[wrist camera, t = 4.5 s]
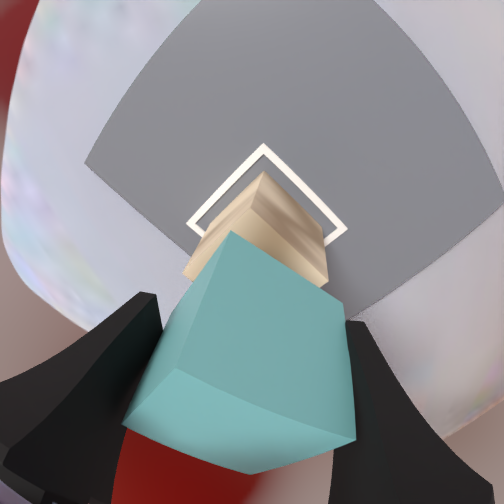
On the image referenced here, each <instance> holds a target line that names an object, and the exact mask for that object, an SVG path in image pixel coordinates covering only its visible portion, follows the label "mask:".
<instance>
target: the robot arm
mask: <svg viewBox="0 0 504 504" xmlns="http://www.w3.org/2000/svg"><path fill="white" fill-rule="evenodd" d="M345 329H346V337H347V346H348V352H349V357H350V364H351V374H352V385H353V397H354V410H355V426H356V440H355V441H353V442H350V443H348V444H345V445H343V446H340V447H338V448H335V449H334V455H333V469H332V479H331V487H330V495H329V501H328V504H495V501H494V493H493V486H492V484H490V483H489V482H488V481H486V480H485V479H484V478H483V477H481V476H480V475H479V474H478V473H476V472H475V471H474V470H472V469H471V468H470V467H469V466H468V465H467V464H466V463H465V462H463V461H462V460H461V459H460V458H459V457H458V456H457V455H456V454H455V453H454V452H453V451H452V450H451V449H450V448H449V447H448V446H447V445H446V443H445V442H444V441H443V440H442V439H441V438H440V437H439V436H438V435H437V434H436V433H435V431H434V430H433V429H432V428H431V427H430V425H429V424H428V423H427V422H426V420H425V419H424V418H423V416H422V415H421V414H420V413H419V411H418V410H417V408H416V407H415V406H414V404H413V403H412V401H411V400H410V398H409V397H408V395H407V394H406V392H405V391H404V389H403V388H402V386H401V385H400V383H399V382H398V380H397V378H396V377H395V375H394V373H393V372H392V370H391V368H390V367H389V365H388V363H387V362H386V360H385V358H384V356H383V355H382V353H381V351H380V349H379V348H378V346H377V344H376V342H375V340H374V339H373V337H372V335H371V333H370V331H369V330H368V328H367V326H366V324H365V323H364V322H362V321H350V320H346V322H345ZM162 332H163V328H162V323H161V318H160V313H159V308H158V302H157V296H156V294H151V293H146V292H139V293H138V294H136V295H135V296H134V297H132V298H131V299H130V300H129V301H127V302H126V303H125V304H124V305H122V306H121V307H120V308H119V309H118V310H116V311H115V312H114V313H113V314H111V315H110V316H109V317H108V318H106V319H105V320H104V321H103V322H101V323H100V324H99V325H97V326H96V327H95V328H94V329H92V330H91V331H90V332H88V333H87V334H85V335H84V336H83V337H81V338H80V339H79V340H77V341H76V342H75V343H73V344H72V345H70V346H69V347H67V348H66V349H64V350H63V351H61V352H60V353H58V354H56V355H55V356H53V357H52V358H50V359H48V360H46V361H45V362H43V363H41V364H39V365H37V366H35V367H33V368H31V369H29V370H28V371H26V372H23V373H21V374H19V375H17V376H15V377H13V378H10V379H8V380H5V381H2V382H0V504H88V503H89V504H111V499H112V492H113V485H114V478H115V474H116V469H117V464H118V459H119V455H120V451H121V447H122V444H123V440H124V436H125V433H126V430H127V427H126V426H124V425H122V424H121V423H122V421H123V419H124V416H125V414H126V412H127V409H128V407H129V405H130V402H131V400H132V398H133V395H134V393H135V391H136V389H137V386H138V384H139V382H140V380H141V377H142V375H143V373H144V371H145V369H146V366H147V364H148V362H149V360H150V358H151V356H152V353H153V351H154V349H155V347H156V345H157V343H158V341H159V339H160V336H161V334H162Z"/></svg>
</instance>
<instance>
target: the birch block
mask: <svg viewBox="0 0 504 504" xmlns="http://www.w3.org/2000/svg"><path fill="white" fill-rule="evenodd" d="M230 230H231V231H233V232H234V233H236V234H238V235H239V236H241V237H242V238H244V239H245V240H247V241H248V242H250V243H251V244H253V245H255V246H256V247H258V248H259V249H261V250H262V251H264V252H265V253H267V254H268V255H270V256H271V257H273V258H274V259H276V260H278V261H279V262H281V263H282V264H284V265H285V266H287V267H288V268H290V269H291V270H293V271H294V272H296V273H297V274H299V275H301V276H302V277H304V278H305V279H307V280H308V281H310V282H311V283H313V284H314V285H316V286H317V287H319V288H320V287H321V286H323V285H324V284H326V283H327V282H328V281H329V279H328V270H327V262H326V254H325V246H324V239H323V232H322V227H321V226H320V225H319V224H318V223H317V222H316V221H315V220H314V218H313V217H312V216H311V215H310V214H309V213H308V212H307V211H306V210H305V209H304V208H303V207H302V206H301V205H300V204H299V203H298V202H297V201H296V200H295V199H293V198H292V197H291V196H290V195H289V194H288V193H287V192H286V191H285V190H284V189H283V188H282V187H281V186H280V185H279V184H278V183H277V182H276V181H275V180H274V179H273V178H272V177H271V176H270V175H269V174H268V173H267V172H265V171H263V172H262V173H261V174H260V175H259V176H258V177H257V178H256V179H255V180H253V181H252V182H251V183H250V184H249V185H248V186H247V187H246V188H245V189H244V190H243V191H242V192H241V193H240V194H239V195H238V196H237V197H236V198H235V199H234V200H233V201H232V202H231V203H230V204H229V205H228V206H227V207H226V208H225V209H224V210H223V211H222V212H221V213H220V214H219V215H218V216H217V217H216V218H215V219H214V220H213V221H212V222H211V223H210V225H209V227H208V228H207V230H206V232H205V233H204V235H203V237H202V239H201V241H200V242H199V244H198V246H197V248H196V249H195V251H194V253H193V255H192V257H191V258H190V260H189V262H188V264H187V266H186V267H185V269H184V271H183V273H182V274H183V275H185V276H186V277H187V278H188V279H190V280H191V281H192V282H194V280H195V279H196V278H197V276H198V275H199V273H200V272H201V271H202V269H203V268H204V266H205V265H206V264H207V262H208V261H209V259H210V258H211V257H212V255H213V254H214V252H215V251H216V250H217V248H218V247H219V246H220V244H221V243H222V241H223V240H224V239H225V237H226V236H227V235H228V233H229V232H230Z"/></svg>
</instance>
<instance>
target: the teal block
mask: <svg viewBox="0 0 504 504" xmlns="http://www.w3.org/2000/svg"><path fill="white" fill-rule="evenodd" d="M121 424H122V425H124V426H126V427H128V428H129V429H131V430H133V431H136V432H138V433H140V434H142V435H144V436H146V437H148V438H150V439H152V440H155V441H157V442H159V443H161V444H164V445H166V446H168V447H171V448H173V449H176V450H178V451H180V452H183V453H186V454H188V455H191V456H194V457H196V458H199V459H202V460H205V461H207V462H210V463H213V464H216V465H219V466H222V467H225V468H229V469H232V470H235V471H239V472H242V473H246V474H255V473H259V472H263V471H267V470H271V469H275V468H278V467H281V466H285V465H288V464H291V463H295V462H298V461H301V460H304V459H307V458H310V457H313V456H316V455H319V454H322V453H325V452H327V451H330V450H333V449H335V448H338V447H340V446H343V445H345V444H348V443H350V442H353V441H355V440H356V426H355V410H354V397H353V385H352V374H351V364H350V357H349V352H348V346H347V337H346V329H345V315H344V308H343V303H342V302H340V301H339V300H337V299H336V298H334V297H333V296H331V295H329V294H328V293H326V292H325V291H323V290H322V289H320V288H319V287H317V286H316V285H314V284H313V283H311V282H310V281H308V280H307V279H305V278H304V277H302V276H301V275H299V274H297V273H296V272H294V271H293V270H291V269H290V268H288V267H287V266H285V265H284V264H282V263H281V262H279V261H278V260H276V259H274V258H273V257H271V256H270V255H268V254H267V253H265V252H264V251H262V250H261V249H259V248H258V247H256V246H255V245H253V244H251V243H250V242H248V241H247V240H245V239H244V238H242V237H241V236H239V235H238V234H236V233H234V232H233V231H231V230H230V232H229V233H228V235H227V236H226V237H225V239H224V240H223V241H222V243H221V244H220V246H219V247H218V248H217V250H216V251H215V252H214V254H213V255H212V257H211V258H210V259H209V261H208V262H207V264H206V265H205V266H204V268H203V269H202V271H201V272H200V273H199V275H198V276H197V278H196V279H195V280H194V282H193V283H192V285H191V286H190V287H189V289H188V290H187V292H186V293H185V295H184V296H183V297H182V299H181V300H180V302H179V303H178V305H177V306H176V307H175V309H174V310H173V312H172V313H171V315H170V317H169V319H168V321H167V324H166V326H165V328H164V330H163V332H162V334H161V336H160V339H159V341H158V343H157V345H156V347H155V349H154V351H153V353H152V356H151V358H150V360H149V362H148V364H147V366H146V369H145V371H144V373H143V375H142V377H141V380H140V382H139V384H138V386H137V389H136V391H135V393H134V395H133V398H132V400H131V402H130V405H129V407H128V409H127V412H126V414H125V416H124V419H123V421H122V423H121Z"/></svg>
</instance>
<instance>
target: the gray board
mask: <svg viewBox="0 0 504 504" xmlns="http://www.w3.org/2000/svg"><path fill="white" fill-rule="evenodd" d="M85 164H86V165H87V166H88V167H89V168H90V169H91V170H92V171H93V172H94V173H96V174H97V175H98V176H99V177H100V178H101V179H102V180H103V181H104V182H105V183H107V184H108V185H109V186H110V187H111V188H112V189H113V190H114V191H115V192H117V193H118V194H119V195H120V196H121V197H122V198H123V199H124V200H126V201H127V202H128V203H129V204H130V205H131V206H132V207H134V208H135V209H136V210H137V211H138V212H139V213H140V214H142V215H143V216H144V217H145V218H146V219H147V220H148V221H150V222H151V223H152V224H153V225H154V226H155V227H157V228H158V229H159V230H160V231H161V232H162V233H164V234H165V235H166V236H167V237H168V238H169V239H171V240H172V241H173V242H174V243H175V244H177V245H178V246H179V247H180V248H181V249H183V250H184V251H185V252H186V253H187V254H189V255H190V256H191V257H192V255H193V253H194V251H195V249H196V248H197V246H198V244H199V242H200V241H201V239H202V237H203V235H204V233H205V232H206V230H207V228H208V227H209V225H210V223H211V222H212V221H213V220H214V219H215V218H216V217H217V216H218V215H219V214H220V213H221V212H222V211H223V210H224V209H225V208H226V207H227V206H228V205H229V204H230V203H231V202H232V201H233V200H234V199H235V198H236V197H237V196H238V195H239V194H240V193H241V192H242V191H243V190H244V189H245V188H246V187H247V186H248V185H249V184H250V183H251V182H252V181H253V180H255V179H256V178H257V177H258V176H259V175H260V174H261V173H262V172H263V171H265V172H267V173H268V174H269V175H270V176H271V177H272V178H273V179H274V180H275V181H276V182H277V183H278V184H279V185H280V186H281V187H282V188H283V189H284V190H285V191H286V192H287V193H288V194H289V195H290V196H291V197H292V198H293V199H295V200H296V201H297V202H298V203H299V204H300V205H301V206H302V207H303V208H304V209H305V210H306V211H307V212H308V213H309V214H310V215H311V216H312V217H313V218H314V220H315V221H316V222H317V223H318V224H319V225H320V226H321V227H322V232H323V239H324V246H325V254H326V262H327V270H328V279H329V281H328V282H327V283H326V284H324V285H323V286H321V287H320V289H322V290H323V291H325V292H326V293H328V294H329V295H331V296H333V297H334V298H336V299H337V300H339V301H340V302H342V303H343V308H344V315H345V321H346V320H348V319H350V318H351V317H353V316H355V315H356V314H358V313H359V312H361V311H362V310H364V309H366V308H367V307H369V306H370V305H372V304H373V303H375V302H376V301H378V300H379V299H381V298H382V297H384V296H385V295H387V294H388V293H390V292H391V291H393V290H394V289H396V288H397V287H399V286H400V285H402V284H403V283H404V282H406V281H407V280H409V279H410V278H412V277H413V276H414V275H416V274H417V273H418V272H420V271H421V270H423V269H424V268H425V267H427V266H428V265H429V264H431V263H432V262H433V261H435V260H436V259H437V258H439V257H440V256H441V255H443V254H444V253H445V252H446V251H448V250H449V249H450V248H452V247H453V246H454V245H455V244H457V243H458V242H459V241H460V240H462V239H463V238H464V237H465V236H466V235H468V234H469V233H470V232H471V231H472V230H474V229H475V228H476V227H477V226H478V225H480V224H481V223H482V222H483V221H484V220H485V219H486V218H488V217H489V216H490V215H491V214H492V213H493V212H494V211H496V210H497V209H498V208H499V207H500V206H501V205H502V204H503V203H504V191H503V189H502V186H501V184H500V181H499V179H498V177H497V174H496V172H495V170H494V168H493V166H492V164H491V161H490V159H489V157H488V155H487V153H486V151H485V149H484V147H483V145H482V143H481V142H480V140H479V138H478V136H477V134H476V132H475V130H474V129H473V127H472V125H471V123H470V122H469V120H468V118H467V117H466V115H465V113H464V112H463V110H462V108H461V107H460V105H459V104H458V102H457V100H456V99H455V97H454V96H453V94H452V93H451V91H450V90H449V88H448V87H447V85H446V84H445V83H444V81H443V80H442V78H441V77H440V76H439V74H438V73H437V71H436V70H435V69H434V67H433V66H432V65H431V63H430V62H429V61H428V60H427V58H426V57H425V56H424V55H423V53H422V52H421V51H420V50H419V48H418V47H417V46H416V45H415V44H414V42H413V41H412V40H411V39H410V38H409V37H408V36H407V34H406V33H405V32H404V31H403V30H402V29H401V28H400V27H399V26H398V24H397V23H396V22H395V21H394V20H393V19H392V18H391V17H390V16H389V15H388V14H387V13H386V12H385V11H384V10H383V9H382V8H381V7H380V6H379V5H378V4H377V3H376V2H375V1H374V0H201V1H200V2H199V3H198V4H197V5H196V6H195V7H194V9H193V10H192V11H191V12H190V13H189V14H188V15H187V16H186V17H185V18H184V19H183V20H182V21H181V23H180V24H179V25H178V26H177V27H176V28H175V29H174V30H173V32H172V33H171V34H170V35H169V36H168V38H167V39H166V40H165V41H164V42H163V44H162V45H161V46H160V47H159V48H158V50H157V51H156V52H155V53H154V55H153V56H152V57H151V59H150V60H149V61H148V63H147V64H146V65H145V66H144V68H143V69H142V71H141V72H140V73H139V75H138V76H137V77H136V79H135V80H134V82H133V83H132V84H131V86H130V87H129V89H128V90H127V92H126V93H125V95H124V96H123V98H122V99H121V101H120V102H119V104H118V105H117V107H116V109H115V110H114V112H113V113H112V115H111V117H110V118H109V120H108V121H107V123H106V125H105V126H104V128H103V130H102V132H101V133H100V135H99V137H98V139H97V140H96V142H95V144H94V146H93V148H92V149H91V151H90V153H89V155H88V157H87V159H86V161H85Z"/></svg>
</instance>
